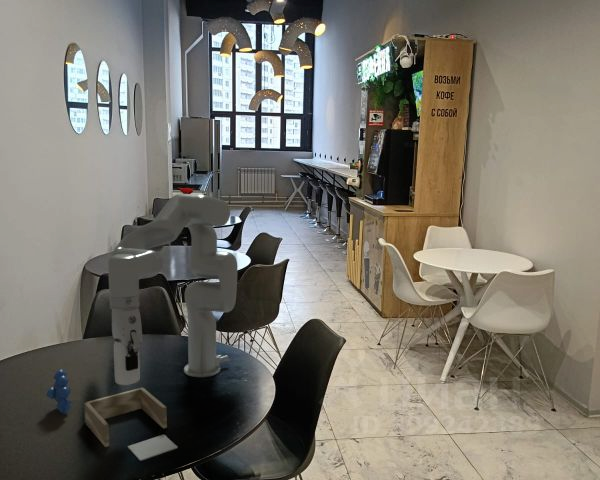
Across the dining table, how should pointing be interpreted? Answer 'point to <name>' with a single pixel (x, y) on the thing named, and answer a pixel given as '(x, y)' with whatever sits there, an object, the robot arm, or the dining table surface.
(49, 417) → the dining table surface
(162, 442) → the mat
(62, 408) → the grapes
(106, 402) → the wooden u-shaped frame
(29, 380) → the dining table surface
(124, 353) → the can
